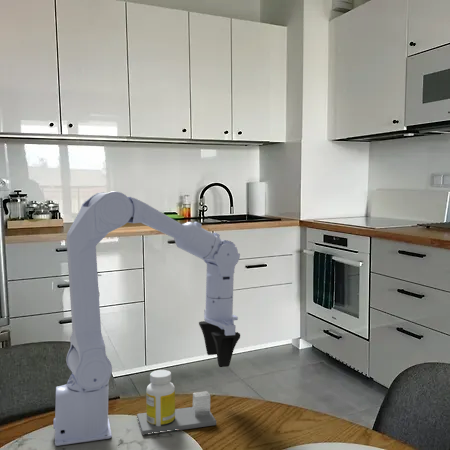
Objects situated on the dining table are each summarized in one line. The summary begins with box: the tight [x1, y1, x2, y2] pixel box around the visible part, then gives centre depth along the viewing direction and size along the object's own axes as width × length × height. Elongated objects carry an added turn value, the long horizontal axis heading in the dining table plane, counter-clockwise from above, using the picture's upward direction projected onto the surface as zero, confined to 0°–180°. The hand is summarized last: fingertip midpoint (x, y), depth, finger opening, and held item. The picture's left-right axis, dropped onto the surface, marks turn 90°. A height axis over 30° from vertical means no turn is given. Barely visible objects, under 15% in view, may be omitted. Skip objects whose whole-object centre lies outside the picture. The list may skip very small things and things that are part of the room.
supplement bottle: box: [145, 369, 176, 426], centre depth 86 cm, size 5×5×10 cm
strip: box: [136, 390, 217, 435], centre depth 87 cm, size 14×7×5 cm, turn 109°
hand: (217, 360), depth 95 cm, fingers open, 7 cm apart
